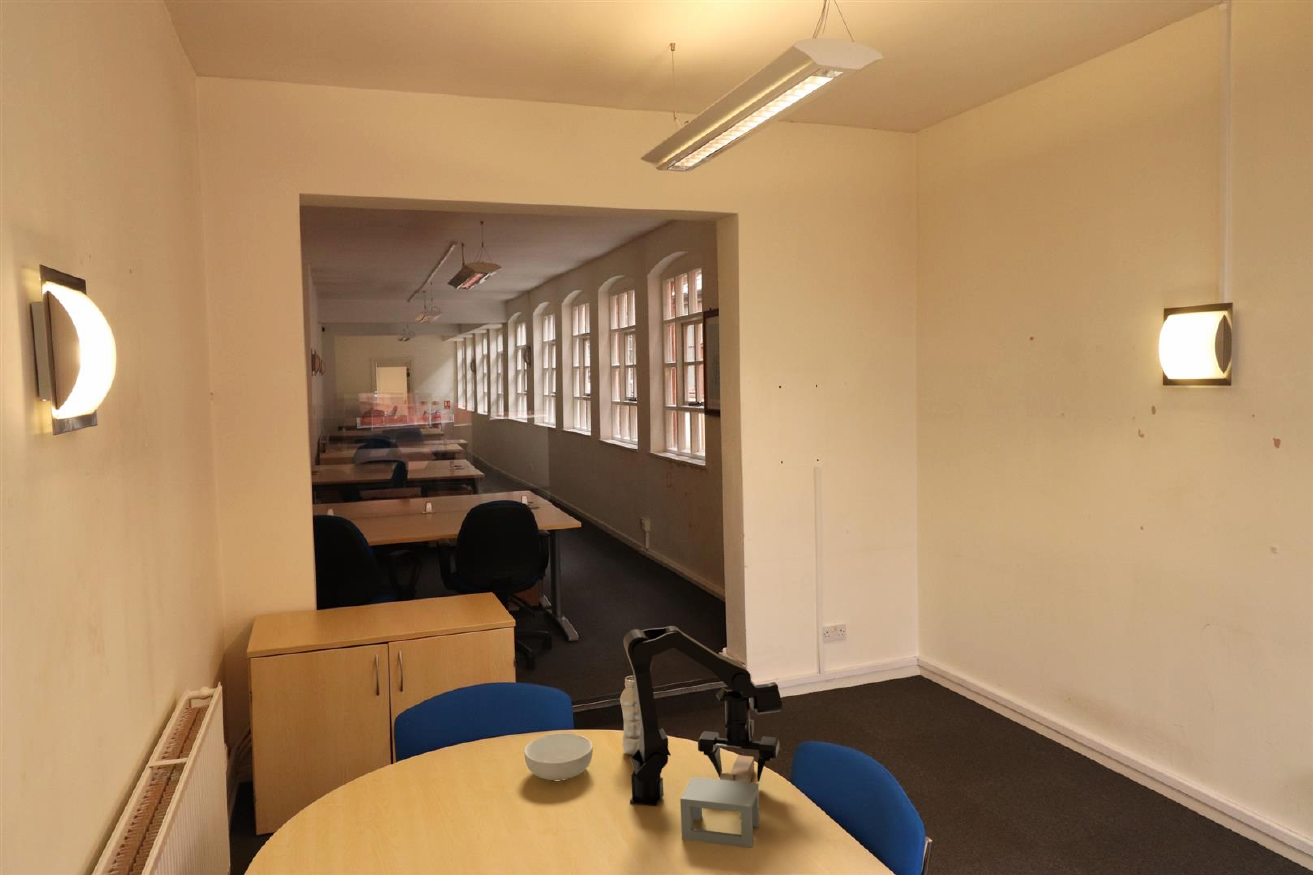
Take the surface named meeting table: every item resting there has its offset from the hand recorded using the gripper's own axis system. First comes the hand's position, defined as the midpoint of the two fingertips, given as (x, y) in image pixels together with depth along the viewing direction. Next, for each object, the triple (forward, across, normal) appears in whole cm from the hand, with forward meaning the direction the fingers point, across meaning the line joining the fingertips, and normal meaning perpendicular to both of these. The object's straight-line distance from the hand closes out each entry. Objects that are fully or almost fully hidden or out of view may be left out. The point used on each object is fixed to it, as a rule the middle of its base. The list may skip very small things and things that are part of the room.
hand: (739, 778), depth 207 cm
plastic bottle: (+2, +30, -12) cm, 32 cm away
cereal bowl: (+2, +45, +4) cm, 45 cm away
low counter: (+2, 0, +20) cm, 21 cm away
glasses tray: (+2, 0, +1) cm, 2 cm away
